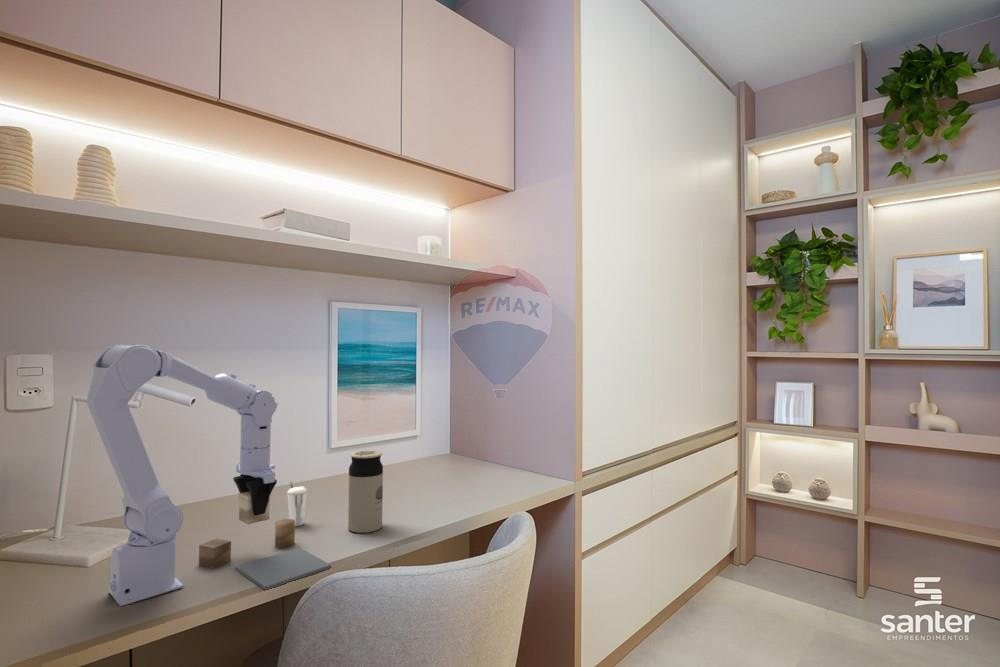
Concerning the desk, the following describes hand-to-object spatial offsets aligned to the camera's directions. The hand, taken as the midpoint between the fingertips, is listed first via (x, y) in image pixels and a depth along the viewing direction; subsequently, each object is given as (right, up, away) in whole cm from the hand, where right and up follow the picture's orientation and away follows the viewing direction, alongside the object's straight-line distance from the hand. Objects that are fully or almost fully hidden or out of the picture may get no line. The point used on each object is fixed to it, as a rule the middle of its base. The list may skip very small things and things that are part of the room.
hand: (254, 511), depth 109 cm
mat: (+9, -9, -7) cm, 15 cm away
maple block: (0, -2, 0) cm, 2 cm away
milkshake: (+1, -10, +19) cm, 21 cm away
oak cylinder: (+4, -9, +5) cm, 11 cm away
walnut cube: (-6, -9, -4) cm, 12 cm away
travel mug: (+19, -10, +16) cm, 27 cm away
